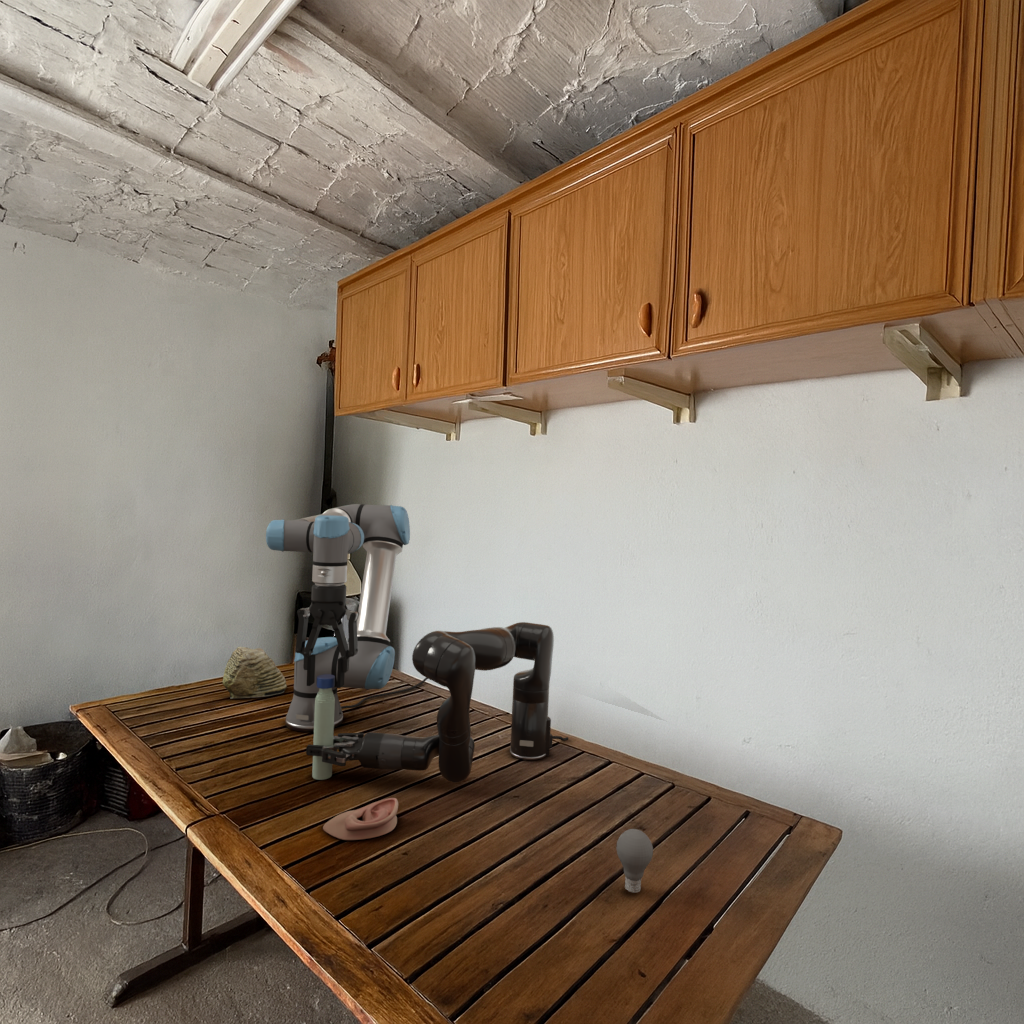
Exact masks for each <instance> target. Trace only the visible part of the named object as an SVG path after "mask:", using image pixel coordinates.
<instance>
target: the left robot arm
mask: <svg viewBox="0 0 1024 1024" xmlns="http://www.w3.org/2000/svg"><path fill="white" fill-rule="evenodd" d="M409 518H410V517H409V514H408V511H407V509H406V508H405V507H404V506H401V505H392V504H390V505H389V504H388V505H387V504H367V503H365V504H364V503H351V504H347V505H342V506H337V507H332V508H329V509H327V510H325V511H324V512H323V513H319V514H317V515H312V516H307V517H302V518H297V519H296V518H295V519H273V520H271V521H270V522H269V523H268V525H267V527H266V531H265V532H266V533H265V542H266V545H267V547H268V548H269V550H271V551H278V552H283V553H284V552H294V553H295V552H297V553H298V552H299V553H312V555H313V556H312V575H311V576H312V578H311V579H312V580H311V582H313V583H314V584H312V586H311V597H310V598H311V599H310V600H311V603H310V605H309V607H302V608H300V609H298V610H297V611H296V614H297V618H298V623H297V633H296V640H295V641H296V642H295V650H294V651H295V655H294V659H293V661H294V670H293V671H294V672H293V695H292V696H293V697H292V699H291V702H290V704H289V708H288V711H287V713H286V715H285V726H286V728H287V729H289V730H291V731H294V732H295V731H296V732H301V733H314V714H315V698H316V696H317V693H318V691H319V688H317V687H316V685H317V676H319V675H324V674H330V675H334V676H335V686H334V687H332V691H333V695H334V697H335V709H334V729H335V728H337V727H339V726H340V725H342V723H343V722H344V714H343V710H344V709H354V708H356V707H358V706H360V705H362V704H363V702H366V701H368V700H370V699H371V700H372V699H374V698H379V697H380V698H381V697H386V696H390V695H394V694H395V695H396V694H401V693H405V692H408V691H411V690H414V689H416V688H418V687H420V686H421V685H423V684H424V683H426V681H427V680H429V679H428V678H427V677H425V678H424V679H423V680H422V681H420V682H418V683H416V684H414V685H413V686H411V687H408V688H404V689H399V690H394V691H390V692H384V693H379V694H378V693H377V694H373V695H369V696H367V697H364V698H362V699H361V700H360V701H359V702H357V703H355V704H350V705H341V702H340V699H339V695H338V689H341V688H344V689H345V688H346V689H347V688H348V689H364V690H367V691H369V690H381V689H383V688H384V687H385V686H386V685H387V684H388V683H389V681H390V678H391V675H392V673H393V670H394V664H395V657H396V650H395V648H394V647H393V646H391V640H390V638H388V636H387V628H388V620H389V613H390V606H391V598H392V590H393V583H394V575H395V568H396V561H397V556H398V555H399V554H401V553H402V552H403V547H404V546H406V545H409V544H410V539H411V526H410V519H409ZM361 547H363V549H364V550H365V552H366V558H365V564H364V571H363V577H362V582H361V583H362V584H361V590H360V595H359V604H358V610H354V611H353V610H351V609H348V606H347V604H346V603H347V585H346V584H345V583H348V556H349V555H351V554H353V553H355V552H356V551H358V550H359V549H360V548H361ZM310 615H311V616H312V617H313V619H314V621H313V624H312V627H311V631H310V633H309V636H308V639H307V634H308V624H309V617H310ZM345 616H346V619H347V621H348V622H347V628H348V633H347V634H348V638H347V637H346V634H345V630H344V623H343V620H342V619H343V618H344V617H345ZM323 626H329V627H331V628H332V630H333V632H334V635H335V637H334V636H325V637H319V635H320V633H321V630H322V627H323Z"/></svg>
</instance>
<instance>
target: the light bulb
mask: <svg viewBox="0 0 1024 1024" xmlns="http://www.w3.org/2000/svg"><path fill="white" fill-rule="evenodd" d="M615 849H616V854H617V857H618V859H619V861H620V863H621V865H622V867H623V873H624V874H623V875H624V876H625V878H624V888H625V890H627V891H628V892H630V893H634V894H635V893H639V892H640V891H641V889H642V887H641V886H642V879H643V877H644V875H645V871H646V868H647V867H648V866H649V864H650V863H651V861H652V859H653V855H654V847H653V843H652V841H651V838H649V836H648V835H647V834H646V833H645V832H643V831H642V830H641V829H636V828H629V829H627V830H625V831H623V832H622V833H621V834H620V835H619V837H618V839H617V841H616V847H615Z"/></svg>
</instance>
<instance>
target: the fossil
mask: <svg viewBox="0 0 1024 1024" xmlns="http://www.w3.org/2000/svg"><path fill="white" fill-rule="evenodd" d="M222 676H223V677H222V685H223V687H224V688H225V690H226V691H228V693H229V698H230V699H250V698H264V697H271V696H275V695H281V694H284V693H285V691H286V689H287V687H288V686H287V680H286V678H285V676H284V674H283V673H282V672H281V669H279V668H278V667H277V665H276V663H275V662H274V660H273V659H272V658H271V657H270V656H269V655H268V654H267V653H266V652H265V650H264V649H263V648H260V647H258V648H251V647H247V646H246V647H245V646H238V647H237V648H236V649H235V650H233V651H232V653H231V656H230V657H229V659H228V660H227V663H226V666H225V668H224V671H223V675H222Z"/></svg>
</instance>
